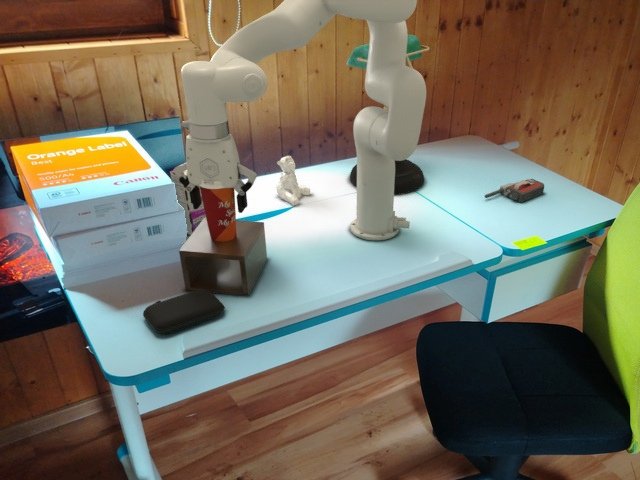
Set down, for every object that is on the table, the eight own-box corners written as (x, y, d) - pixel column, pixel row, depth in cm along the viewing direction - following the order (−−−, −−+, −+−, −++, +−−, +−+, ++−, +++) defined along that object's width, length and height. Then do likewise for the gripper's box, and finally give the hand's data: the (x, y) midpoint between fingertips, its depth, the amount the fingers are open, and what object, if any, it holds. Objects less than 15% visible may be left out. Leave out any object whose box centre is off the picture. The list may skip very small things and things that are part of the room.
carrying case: (206, 293, 137) (139, 315, 129) (204, 281, 135) (136, 303, 127) (228, 316, 130) (159, 340, 122) (227, 303, 128) (156, 328, 120)
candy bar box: (212, 216, 167) (203, 157, 157) (225, 221, 165) (218, 161, 155) (179, 232, 159) (168, 170, 149) (193, 237, 157) (183, 175, 147)
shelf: (267, 259, 150) (264, 222, 144) (248, 296, 137) (244, 256, 131) (209, 255, 150) (204, 217, 144) (185, 290, 137) (178, 250, 131)
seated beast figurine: (295, 206, 174) (293, 165, 167) (268, 200, 177) (265, 159, 170) (312, 194, 181) (310, 154, 174) (286, 188, 184) (283, 148, 177)
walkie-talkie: (524, 183, 195) (481, 199, 184) (526, 170, 193) (483, 185, 181) (547, 193, 190) (504, 210, 179) (549, 179, 188) (506, 195, 176)
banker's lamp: (383, 158, 207) (387, 27, 184) (441, 177, 196) (453, 40, 173) (330, 182, 189) (327, 40, 166) (391, 204, 178) (397, 55, 155)
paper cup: (232, 246, 134) (225, 184, 126) (199, 241, 135) (189, 180, 127) (247, 230, 140) (240, 170, 132) (215, 225, 141) (206, 166, 133)
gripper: (159, 132, 121) (173, 212, 131) (247, 138, 120) (255, 219, 130) (173, 120, 127) (186, 198, 137) (257, 126, 127) (264, 204, 137)
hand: (220, 208), depth 134 cm, fingers open, 9 cm apart
